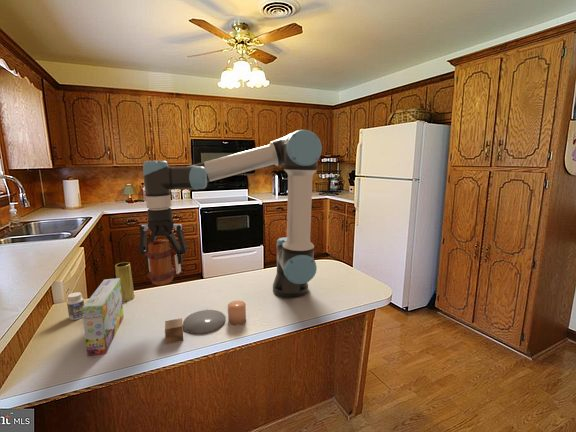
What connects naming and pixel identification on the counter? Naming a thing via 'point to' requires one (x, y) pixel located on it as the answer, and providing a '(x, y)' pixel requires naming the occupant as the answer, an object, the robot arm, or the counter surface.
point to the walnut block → (174, 331)
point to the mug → (161, 261)
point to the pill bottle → (75, 305)
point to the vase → (125, 280)
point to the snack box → (102, 316)
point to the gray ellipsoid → (204, 321)
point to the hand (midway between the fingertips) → (165, 272)
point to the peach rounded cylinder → (236, 312)
